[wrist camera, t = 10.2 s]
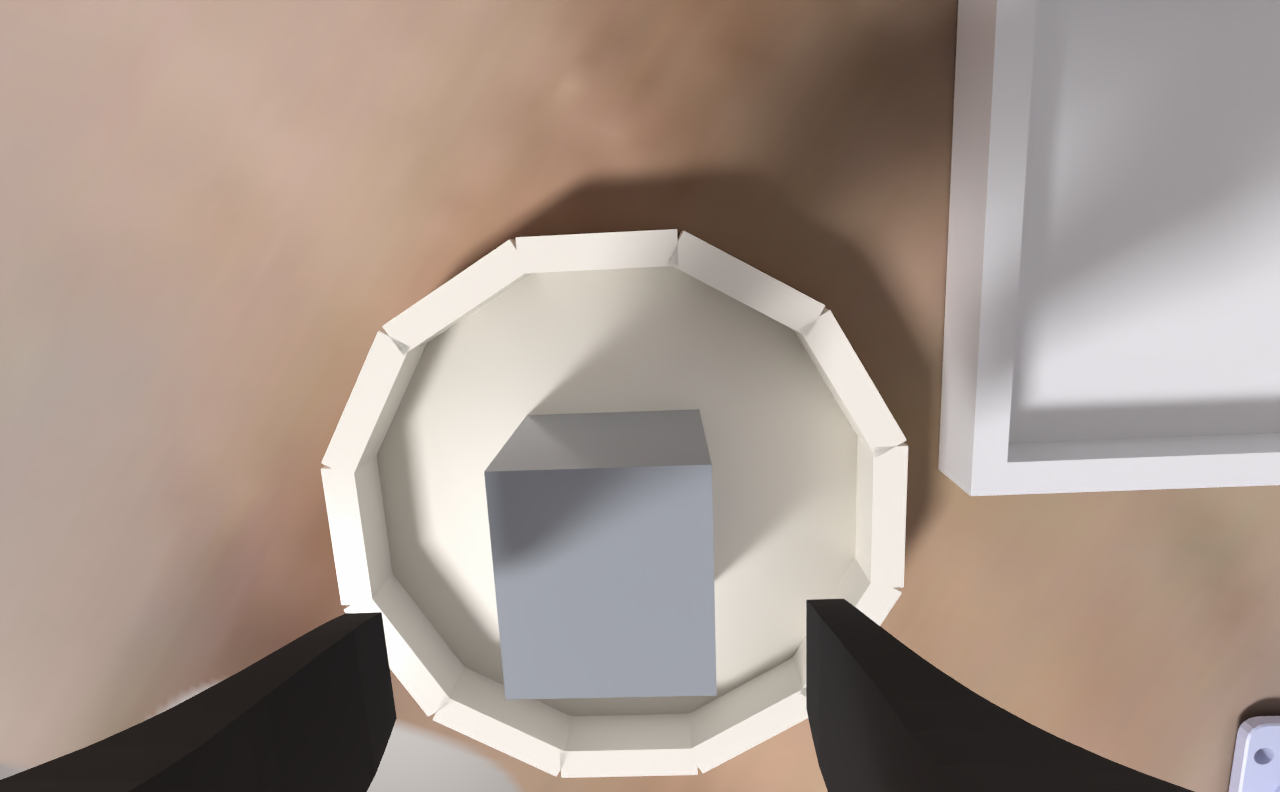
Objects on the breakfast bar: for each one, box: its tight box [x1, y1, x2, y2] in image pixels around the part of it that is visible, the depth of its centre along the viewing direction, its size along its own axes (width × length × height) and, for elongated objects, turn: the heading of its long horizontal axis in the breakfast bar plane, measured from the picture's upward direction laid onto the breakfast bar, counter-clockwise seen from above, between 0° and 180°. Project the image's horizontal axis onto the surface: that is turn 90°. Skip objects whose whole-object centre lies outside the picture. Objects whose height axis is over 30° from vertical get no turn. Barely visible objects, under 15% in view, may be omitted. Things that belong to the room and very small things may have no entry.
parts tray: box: [938, 0, 1280, 496], centre depth 16 cm, size 13×13×2 cm
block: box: [484, 409, 717, 700], centre depth 16 cm, size 5×4×4 cm
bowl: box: [321, 229, 908, 778], centre depth 18 cm, size 14×14×2 cm
